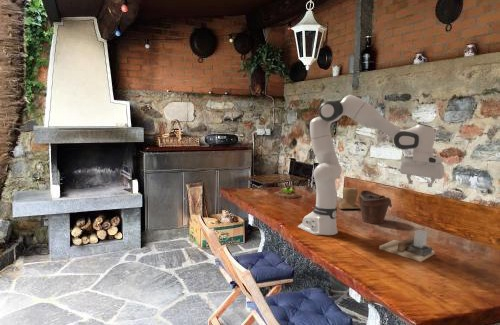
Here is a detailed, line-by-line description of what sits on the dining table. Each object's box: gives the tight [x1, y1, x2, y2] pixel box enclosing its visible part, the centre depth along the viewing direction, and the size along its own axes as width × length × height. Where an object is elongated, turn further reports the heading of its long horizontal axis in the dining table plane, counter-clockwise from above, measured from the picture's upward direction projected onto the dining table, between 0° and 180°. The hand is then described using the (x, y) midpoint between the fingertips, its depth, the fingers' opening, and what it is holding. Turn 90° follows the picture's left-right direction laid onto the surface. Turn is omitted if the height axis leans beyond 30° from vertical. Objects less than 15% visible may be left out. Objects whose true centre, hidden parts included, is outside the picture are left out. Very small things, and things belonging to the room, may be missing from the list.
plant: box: [273, 181, 302, 200], centre depth 289 cm, size 20×20×11 cm
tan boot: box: [337, 187, 361, 210], centre depth 253 cm, size 15×12×15 cm
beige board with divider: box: [378, 236, 435, 263], centre depth 173 cm, size 20×15×6 cm
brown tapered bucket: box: [357, 190, 393, 225], centre depth 222 cm, size 18×20×18 cm
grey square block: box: [413, 229, 428, 250], centre depth 168 cm, size 4×4×10 cm
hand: (419, 185), depth 177 cm, fingers open, 8 cm apart
